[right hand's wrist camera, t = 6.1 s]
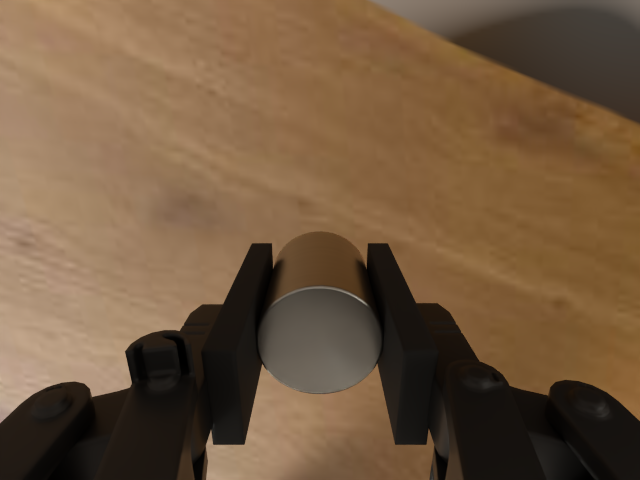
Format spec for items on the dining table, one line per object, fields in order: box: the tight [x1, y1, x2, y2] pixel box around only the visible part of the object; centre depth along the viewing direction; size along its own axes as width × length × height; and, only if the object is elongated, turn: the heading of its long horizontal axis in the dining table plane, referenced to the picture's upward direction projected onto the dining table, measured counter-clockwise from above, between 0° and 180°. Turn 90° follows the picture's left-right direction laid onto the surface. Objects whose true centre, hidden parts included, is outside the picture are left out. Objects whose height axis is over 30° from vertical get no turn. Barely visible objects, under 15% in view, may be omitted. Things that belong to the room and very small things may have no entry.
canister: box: [256, 232, 384, 394], centre depth 13 cm, size 4×4×5 cm
